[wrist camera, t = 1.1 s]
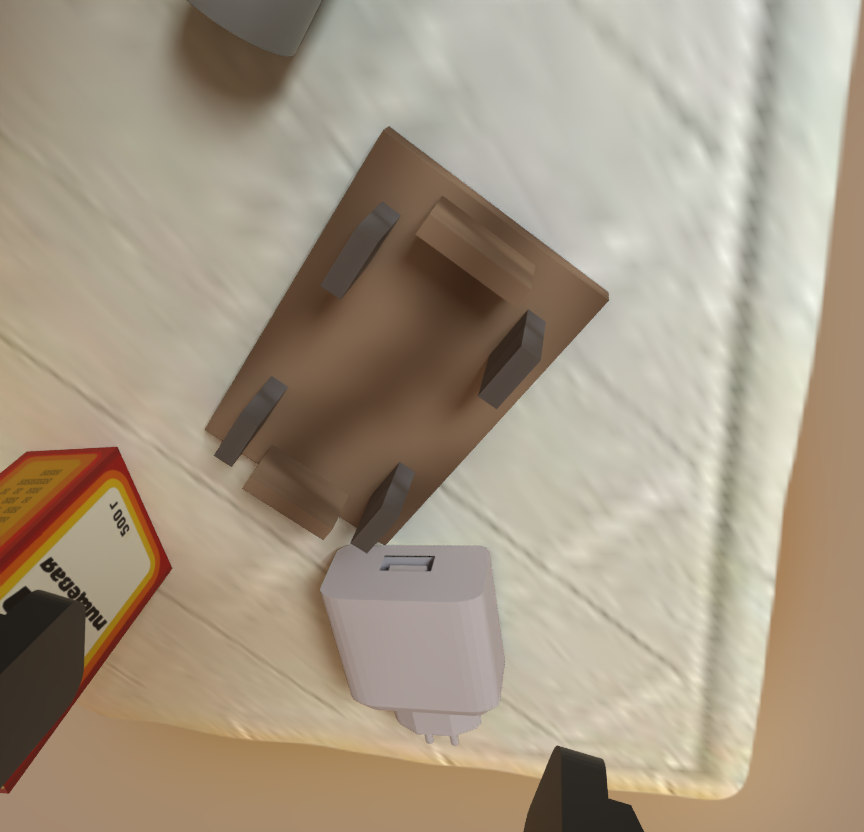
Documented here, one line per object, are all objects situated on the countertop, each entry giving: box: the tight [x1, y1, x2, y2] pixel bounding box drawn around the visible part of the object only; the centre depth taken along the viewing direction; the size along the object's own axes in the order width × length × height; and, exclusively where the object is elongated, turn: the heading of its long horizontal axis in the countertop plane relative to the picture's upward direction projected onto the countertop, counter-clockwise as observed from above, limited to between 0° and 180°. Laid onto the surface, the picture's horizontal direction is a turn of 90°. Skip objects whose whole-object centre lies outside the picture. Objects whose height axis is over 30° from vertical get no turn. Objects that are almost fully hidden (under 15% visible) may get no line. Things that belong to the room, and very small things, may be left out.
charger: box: [320, 545, 505, 746], centre depth 44 cm, size 5×9×15 cm
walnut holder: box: [205, 127, 609, 554], centre depth 34 cm, size 12×19×5 cm, turn 146°
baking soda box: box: [0, 447, 172, 794], centre depth 39 cm, size 10×6×16 cm
